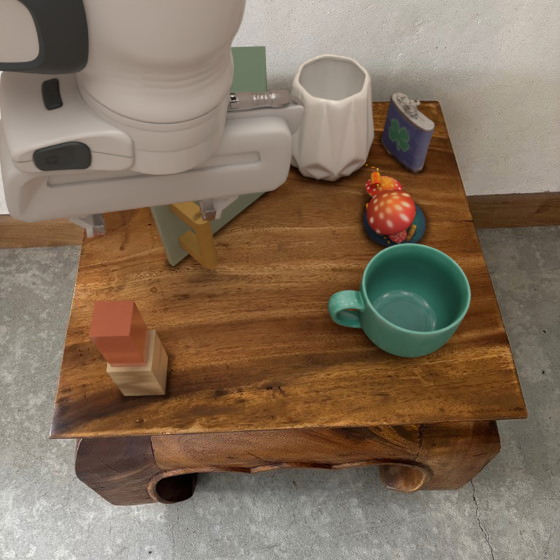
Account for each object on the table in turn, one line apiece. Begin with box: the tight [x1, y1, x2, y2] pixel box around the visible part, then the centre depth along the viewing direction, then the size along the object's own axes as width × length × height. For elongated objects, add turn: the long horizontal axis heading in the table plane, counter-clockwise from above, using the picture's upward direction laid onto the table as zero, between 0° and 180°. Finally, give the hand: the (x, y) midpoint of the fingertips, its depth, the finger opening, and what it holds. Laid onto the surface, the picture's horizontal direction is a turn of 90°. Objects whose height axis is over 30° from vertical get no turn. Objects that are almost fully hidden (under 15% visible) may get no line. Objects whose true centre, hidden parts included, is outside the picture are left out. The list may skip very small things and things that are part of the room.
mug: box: [327, 243, 472, 358], centre depth 68 cm, size 17×13×10 cm
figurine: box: [362, 163, 427, 248], centre depth 77 cm, size 12×9×8 cm
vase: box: [289, 53, 375, 182], centre depth 81 cm, size 14×14×15 cm
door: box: [149, 192, 266, 270], centre depth 73 cm, size 7×20×16 cm, turn 136°
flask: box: [380, 91, 436, 173], centre depth 83 cm, size 9×3×11 cm, turn 30°
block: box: [88, 299, 150, 367], centre depth 58 cm, size 4×4×8 cm
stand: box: [105, 329, 169, 397], centre depth 65 cm, size 5×5×8 cm
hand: (154, 221), depth 46 cm, fingers open, 8 cm apart
